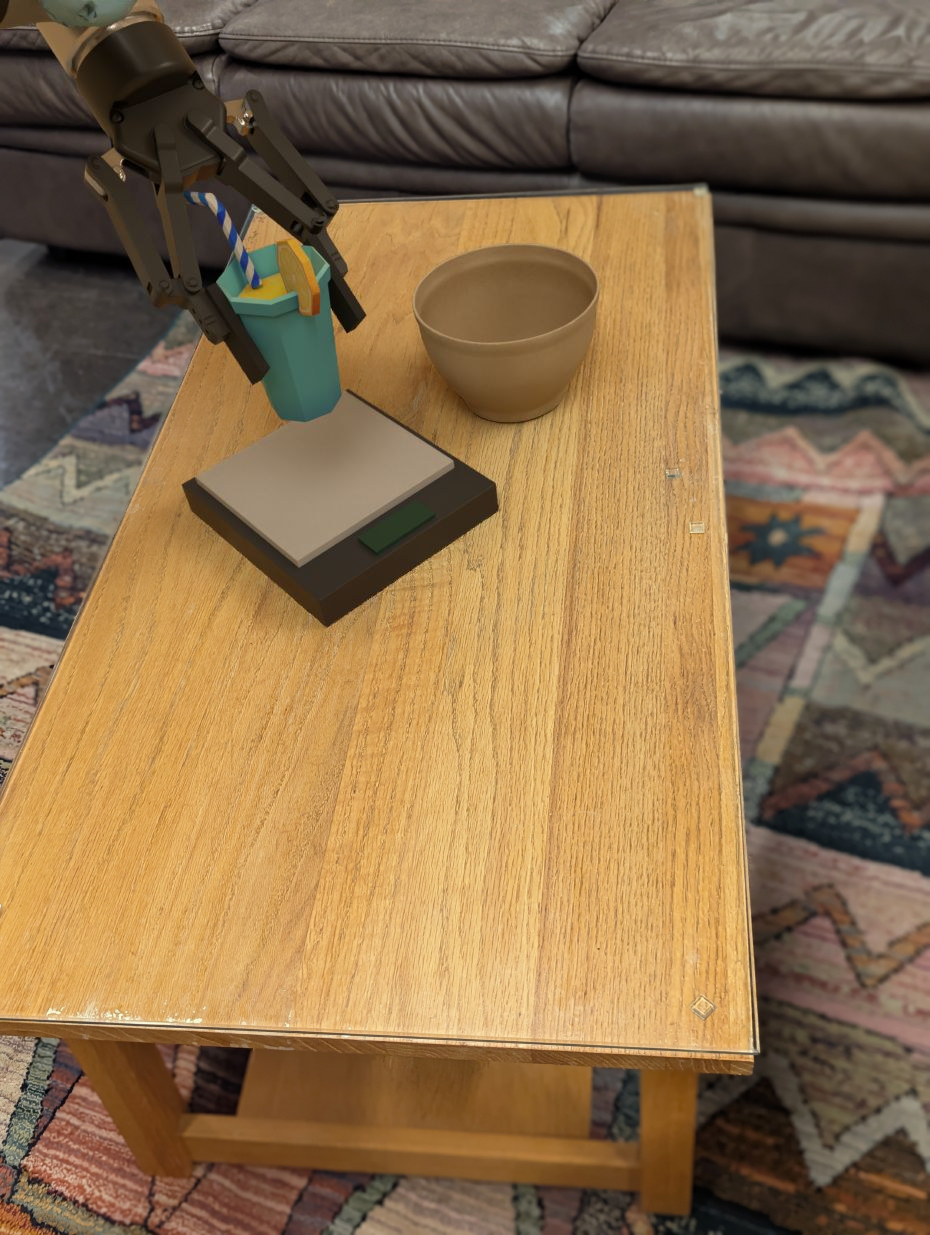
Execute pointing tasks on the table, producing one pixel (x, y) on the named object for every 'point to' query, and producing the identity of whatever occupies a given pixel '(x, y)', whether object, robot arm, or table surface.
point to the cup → (283, 317)
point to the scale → (340, 504)
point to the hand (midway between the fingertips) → (309, 349)
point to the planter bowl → (508, 325)
